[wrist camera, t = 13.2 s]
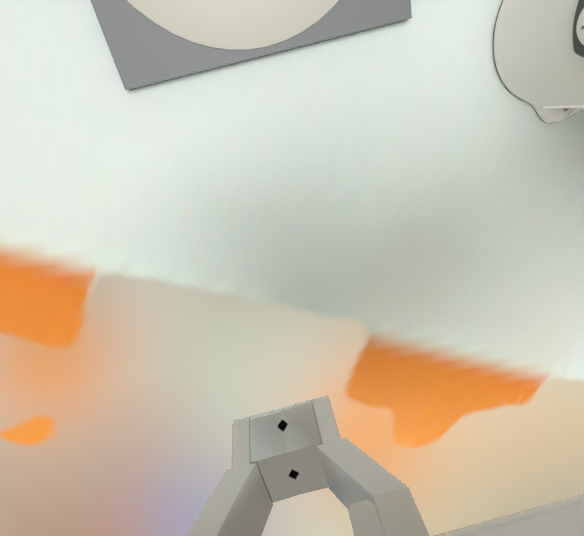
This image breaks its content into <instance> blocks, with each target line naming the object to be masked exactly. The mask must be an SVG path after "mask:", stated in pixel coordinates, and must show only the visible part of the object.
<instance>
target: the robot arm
mask: <svg viewBox="0 0 584 536" xmlns="http://www.w3.org/2000/svg"><path fill="white" fill-rule="evenodd" d="M494 57H495V63H496V67H497V70H498V73H499V75H500V78H501V80H502V81H503V83H504V84H505V86H506V87H507V88H508V90H509V91H510V92H511V93H513V94H514V95H515V96H517V97H518V98H520V99H522V100H524V101H526V102H528V103H529V104H531V105H532V106H533V107H534V108H535V110H536V112H537V113H538V115H539V116H540V118H541V119H542V120H543V121H544V122H546V123H555V122H559V121H561V120H563V119H566V118H568V117H570V116H572V115H574V114H576V113H578V112H580V111H583V110H584V0H503V3H502V5H501V8H500V11H499V14H498V18H497V22H496V27H495V33H494ZM563 108H564V109H563ZM232 433H233V434H232V469H230V470H227V471H226V472H225V474H224V476H223V477H222V479H221V481H220V482H219V484H218V486H217V487H216V489H215V490H214V492H213V494H212V495H211V497H210V499H209V500H208V502H207V504H206V505H205V507H204V508H203V510H202V512H201V514H200V515H199V517H198V518H197V520H196V522H195V523H194V525H193V526H192V528H191V530H190V531H189V533H188V535H187V536H261V535H262V532H263V529H264V527H265V524H266V522H267V519H268V516H269V514H270V511H271V508H272V506H273V504H272V503H273V502H276V501H280V500H283V499H286V498H290V497H292V496H296V495H299V494H303V493H307V492H311V491H315V490H320V489H324V488H327V487H329V489H330V490H331V491H332V492H333V493H334V494H335V495H336V497H337V498H338V499H339V500H340V501H341V502H342V503H343V504H344V505H345V506H346V508H347V509H348V511H349V515H350V520H351V523H352V527H353V532H354V536H429V534H428V532H427V529H426V527H425V525H424V522H423V520H422V518H421V515H420V513H419V511H418V509H417V506H416V504H415V502H414V499H413V497H412V495H411V492H410V490H409V488H408V487H407V486H406V485H405V484H404V483H402V482H401V481H400V480H398V479H397V478H396V477H394V476H393V475H392V474H391V473H390V472H388V471H387V470H386V469H384V468H383V467H382V466H381V465H379V464H378V463H377V462H376V461H374V460H373V459H372V458H371V457H369V456H368V455H367V454H365V453H364V452H363V451H362V450H360V449H359V448H358V447H357V446H355V445H354V444H353V443H351V442H350V441H349V440H348V439H346V438H343V439H341V438H340V434H339V431H338V428H337V424H336V421H335V417H334V414H333V411H332V407H331V404H330V401H329V398H328V396H324V397H320V398H316V399H313V400H309V401H306V402H302V403H298V404H295V405H292V406H288V407H284V408H281V409H278V410H274V411H270V412H266V413H261V414H257V415H253V416H250V417H247V418H243V419H238V420H234V423H233V432H232ZM434 536H584V494H582V495H578V496H574V497H571V498H567V499H564V500H560V501H557V502H553V503H549V504H546V505H542V506H539V507H535V508H532V509H528V510H524V511H521V512H517V513H514V514H510V515H506V516H503V517H499V518H495V519H492V520H488V521H485V522H482V523H478V524H474V525H470V526H467V527H463V528H460V529H456V530H452V531H449V532H445V533H442V534H438V535H434Z"/></svg>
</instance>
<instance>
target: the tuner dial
mask: <svg viewBox="0 0 584 536" xmlns="http://www.w3.org/2000/svg"><path fill="white" fill-rule="evenodd" d="M91 3H92V5H93V8H94V10H95V13H96V16H97V18H98V21H99V23H100V26H101V28H102V31H103V34H104V36H105V39H106V41H107V44H108V46H109V49H110V52H111V54H112V57H113V59H114V62H115V65H116V67H117V70H118V72H119V75H120V77H121V80H122V83H123V85H124V88H125V90H132V89H136V88H140V87H143V86H147V85H151V84H155V83H159V82H163V81H167V80H171V79H175V78H179V77H183V76H187V75H191V74H195V73H199V72H203V71H207V70H211V69H215V68H219V67H223V66H226V65H230V64H234V63H238V62H242V61H246V60H250V59H254V58H258V57H262V56H266V55H270V54H274V53H278V52H282V51H286V50H290V49H294V48H298V47H302V46H306V45H309V44H313V43H317V42H321V41H325V40H329V39H333V38H337V37H341V36H345V35H349V34H353V33H357V32H361V31H365V30H369V29H373V28H377V27H381V26H385V25H389V24H392V23H396V22H400V21H404V20H407V19H410V18H412V16H411V1H410V0H91Z"/></svg>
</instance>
